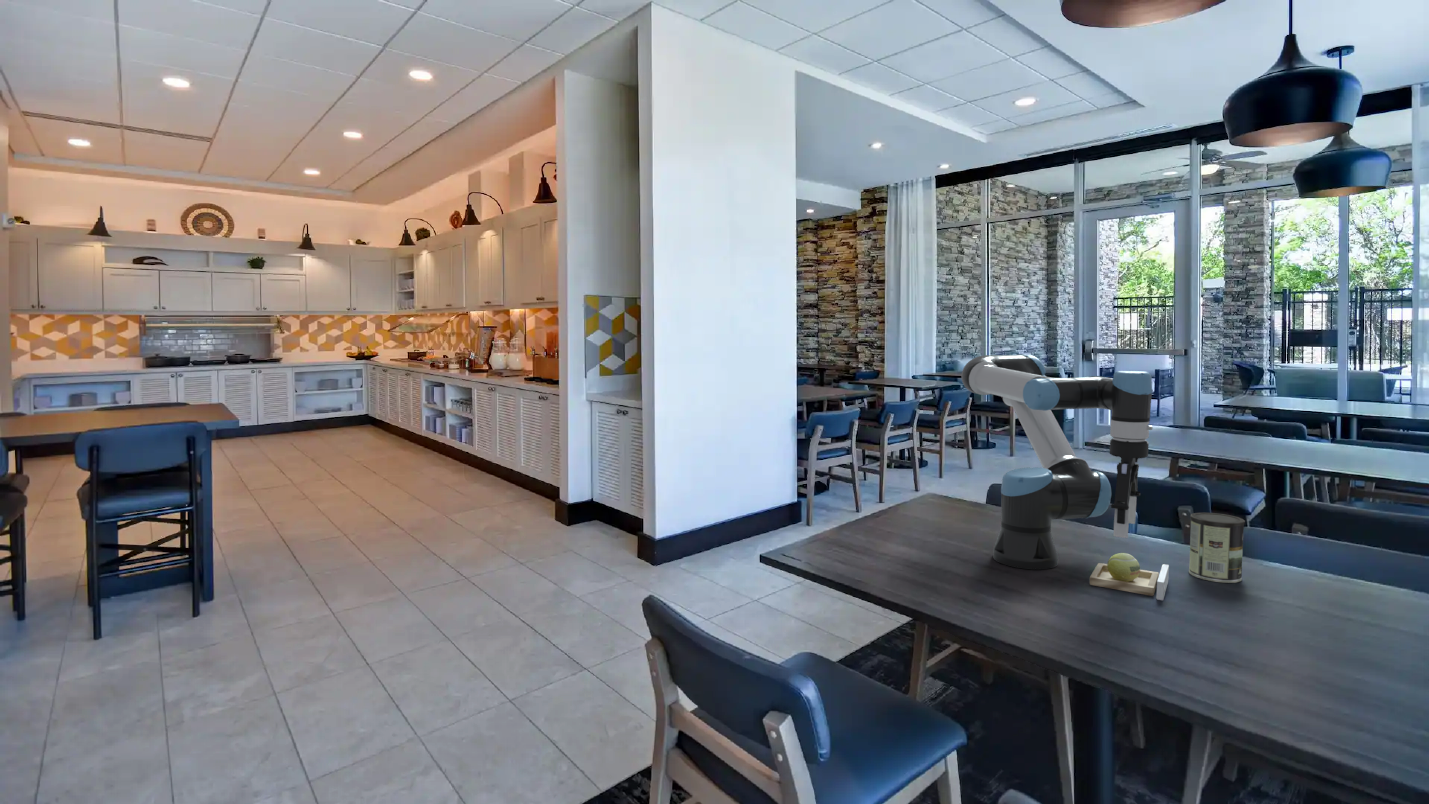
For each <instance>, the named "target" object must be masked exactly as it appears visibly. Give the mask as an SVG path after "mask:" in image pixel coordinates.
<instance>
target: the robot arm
mask: <svg viewBox="0 0 1429 804" xmlns="http://www.w3.org/2000/svg"><path fill="white" fill-rule="evenodd" d="M1046 372H1047V371H1046V369H1045V365H1044V364H1043V362H1042V361H1041V359H1039V358H1038V357H1036V356H1034V355H1031V354H1023V353H1018V354H1001V355H998V354H997V355H993V354H992V355H987V354H986V355H979V356H976V357H974V358H972V359H970V360H969V361H968V362H967V363H966V364H965V365H964V366H963V369H962V371H961V382H962V384H963V386H964V388H965V389H967V391H969V392H970V393H973V394H977V395H981V396H982V395H983V396H989V395H994V396H998V397H1001V399H1002V401H1003V403H1004V404H1005V405H1006V406H1009V407H1012V409H1013V410H1014V412H1015V415H1016V417H1017V418H1018V421H1019V422H1020V424H1021V427H1022V428H1023V431H1024V432H1025V435H1026V437H1027V439H1028V440H1029V443H1030V444H1031V447H1032V449H1033V451H1034V452H1035V455H1036V457H1037V459H1038V460H1039V463H1040V465H1041V467H1021V468H1015V469H1011V470H1008V471H1007V472H1005V474H1003V476H1002V480H1001V481H1002V482H1001V487H1000V493H1001V502H1000V503H1001V508H1000V530H999V532H998V535H997V538H996V540H995V544H994V545H993V550H992V558H993V560H994V561H996V562H998V563H1000V564H1003V565H1005V566H1007V567H1008V566H1009V567H1012V568H1018V569H1025V570H1026V569H1027V570H1048V569H1053V568H1055V567H1057V566H1058V565H1059V564H1058V563H1059V555H1058V551H1057V548H1056V545H1055V542H1054V539H1053V536H1052V520H1070V519H1072V520H1073V519H1089V518H1096V517H1100V516H1102V515H1103V514H1105V512H1106V511H1107V510H1108V508H1109V507H1111V509H1114V518H1113V519H1114V520H1113V535H1112V536H1113V537H1115V538H1123V539H1129V524H1132V525H1135V524H1136V512H1137V497H1140V496H1141V491H1138V490H1139V487H1138V476H1139V475H1138V474H1139V467H1140V464H1139V463H1138V460H1139V459H1145V458H1147V457H1148V455H1149V447H1150V446H1149V444H1150V443H1149V441H1148V440H1147V439H1148V438H1150V437H1149V436H1150V431H1152V430H1153V429H1154V428H1153V425H1150V421H1151V406H1152V393H1153V388H1152V387H1153V380H1152V379H1153V378H1152V375H1151V373H1149V372H1148V371H1143V370H1142V371H1140V370H1139V371H1138V370H1117V371H1115V372H1114V373H1113V378H1112V377H1105V376H1101V375H1087V376H1084V377H1064V378H1063V377H1050V376H1047V375H1045V374H1047V373H1046ZM1085 409H1086V410H1087V409H1099V410H1102V409H1104V410H1109V411H1111V416H1110V417H1111V419H1110V431H1109V434H1110V435H1109V436H1110V437H1111V439H1110V441H1109V454H1110V455H1111V456H1113V457H1116V458H1117V457H1118V458H1120V461H1119V462H1118V463H1117V465H1116V472H1117V473H1116V483H1115V484H1116V486H1115V493H1114V502H1113V503H1111V498H1112V487H1111V483H1110V481H1109V479H1108V477H1107V476H1106V474H1104V473H1103V472H1100V471H1098V470H1094V471H1092V470H1091V468H1090V466H1089V464H1088V463H1087V461H1086V459H1084V458H1081V457H1077V456H1076V453H1075V452H1074V450H1073V448H1072V446H1071V444H1070V443H1069V440H1068V438H1067V437H1066V435H1065V434H1064V431H1063V429H1062V428H1061V426H1060V424H1059V422H1058V420H1057V419H1056V417H1055V415H1054V413H1053V412H1052V410H1055V411H1057V410H1085Z"/></svg>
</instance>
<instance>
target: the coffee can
mask: <svg viewBox="0 0 1429 804" xmlns="http://www.w3.org/2000/svg"><path fill="white" fill-rule="evenodd" d="M1245 523H1246V520H1244V519H1243V518H1242V517H1239V516H1235V515H1230V514H1226V513H1217V512H1216V513H1215V512H1195V513H1194V512H1193V513H1191V514H1190V538H1189V539H1190V540H1189V546H1190V547H1189V562H1188V563H1189V565H1188V568H1189V569H1188V573H1189V574H1190V575H1191V576H1193V577H1195V578H1198V579H1200V580H1205V581H1207V582H1208V581H1209V582H1214V583H1215V582H1216V583H1220V584H1221V583H1223V584H1225V583H1226V584H1231V583H1232V584H1237V583H1240V582H1242V580H1243V577H1242V575H1243V574H1242V573H1243V548H1244V531H1245V530H1244V529H1245V528H1244V526H1245Z"/></svg>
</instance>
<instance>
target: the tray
mask: <svg viewBox="0 0 1429 804" xmlns="http://www.w3.org/2000/svg"><path fill="white" fill-rule="evenodd" d="M1159 574H1160V571H1159V572H1158V571H1150V570H1146V569H1140V573H1139V576H1138V577H1137V578H1136V579H1134V580H1133V581H1130V582H1125V581H1119V580H1116V579H1114V578H1113V577H1112V576H1111V574H1110V573H1109V571H1108V569H1107V563H1104V562H1103V563H1101V562H1098V563H1097V565H1096V566H1095V568H1094V570H1093V571H1092V573H1091V575H1090V576H1089V585H1090V586H1094V587H1095V586H1096V587H1102V588H1106V589H1111V590H1117V591H1123V592H1128V593H1132V594H1133V593H1135V594H1139V595H1140V594H1141V595H1145V596H1151V597H1154V595H1155V594H1156V593H1155V592H1156V591H1157V580H1158V577H1159Z"/></svg>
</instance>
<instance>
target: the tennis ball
mask: <svg viewBox="0 0 1429 804" xmlns="http://www.w3.org/2000/svg"><path fill="white" fill-rule="evenodd" d="M1106 564H1107V569H1108V571H1109V573H1110V574H1111V576H1112V577H1113V578H1114V579H1116V580H1119V581H1125V582H1130V581H1133V580H1134V579H1136V578H1137V577H1138V576H1139V573H1140V570H1141V567H1140V563H1139V561H1138V560H1137V559H1136V558H1135V557H1134V556H1133V555H1131V554H1129V553H1126V552H1120V553H1115V554H1113V555H1111V556H1110V558H1109V559H1108V561H1107V563H1106Z"/></svg>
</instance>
